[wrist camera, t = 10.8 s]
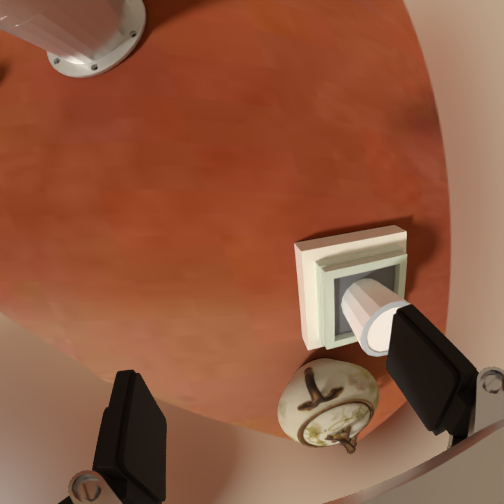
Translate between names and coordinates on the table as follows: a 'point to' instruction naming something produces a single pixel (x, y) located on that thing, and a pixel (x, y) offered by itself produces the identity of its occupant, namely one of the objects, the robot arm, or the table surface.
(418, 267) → the table surface
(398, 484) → the robot arm
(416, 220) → the table surface
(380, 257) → the stand
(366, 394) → the sugar bowl
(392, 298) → the white short cylinder
